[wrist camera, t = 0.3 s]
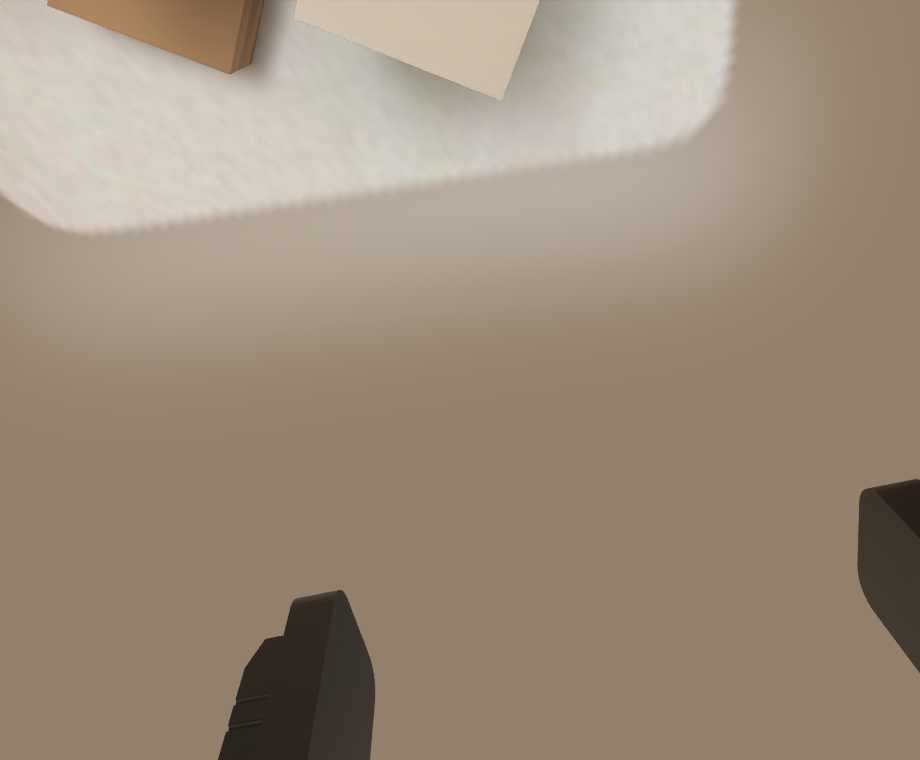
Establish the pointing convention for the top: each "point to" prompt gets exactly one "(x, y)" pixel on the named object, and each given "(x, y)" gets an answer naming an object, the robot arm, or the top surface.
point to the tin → (434, 34)
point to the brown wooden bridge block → (180, 26)
